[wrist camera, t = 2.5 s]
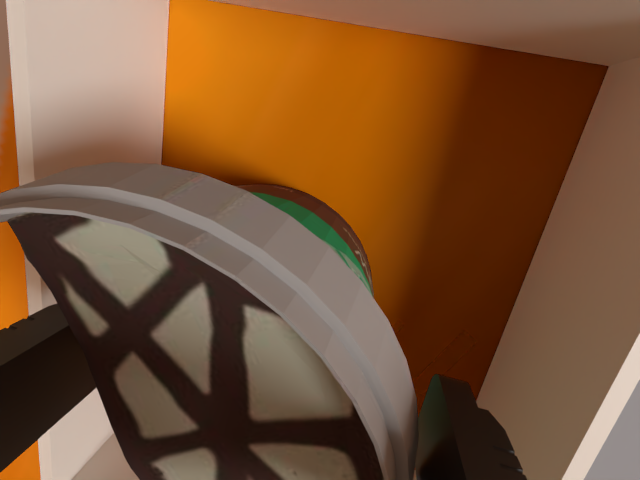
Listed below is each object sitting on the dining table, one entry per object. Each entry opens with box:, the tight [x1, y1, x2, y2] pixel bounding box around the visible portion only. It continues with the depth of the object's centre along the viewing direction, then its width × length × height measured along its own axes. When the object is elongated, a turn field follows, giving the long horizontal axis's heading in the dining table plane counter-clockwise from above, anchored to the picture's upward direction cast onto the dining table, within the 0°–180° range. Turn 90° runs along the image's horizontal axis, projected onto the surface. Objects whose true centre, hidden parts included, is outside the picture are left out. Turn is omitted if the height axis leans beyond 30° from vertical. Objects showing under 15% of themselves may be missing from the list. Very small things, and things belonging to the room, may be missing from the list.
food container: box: [0, 162, 419, 480], centre depth 11 cm, size 12×6×10 cm, turn 20°
